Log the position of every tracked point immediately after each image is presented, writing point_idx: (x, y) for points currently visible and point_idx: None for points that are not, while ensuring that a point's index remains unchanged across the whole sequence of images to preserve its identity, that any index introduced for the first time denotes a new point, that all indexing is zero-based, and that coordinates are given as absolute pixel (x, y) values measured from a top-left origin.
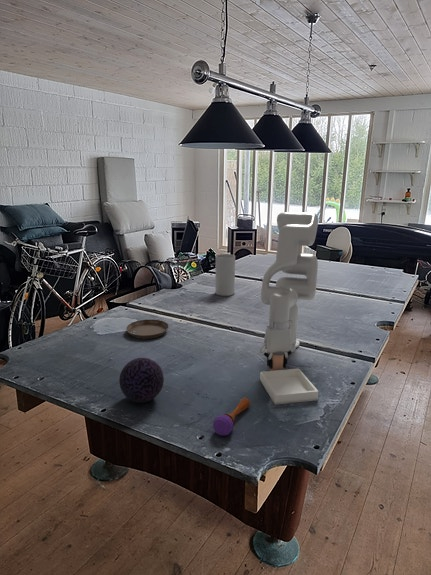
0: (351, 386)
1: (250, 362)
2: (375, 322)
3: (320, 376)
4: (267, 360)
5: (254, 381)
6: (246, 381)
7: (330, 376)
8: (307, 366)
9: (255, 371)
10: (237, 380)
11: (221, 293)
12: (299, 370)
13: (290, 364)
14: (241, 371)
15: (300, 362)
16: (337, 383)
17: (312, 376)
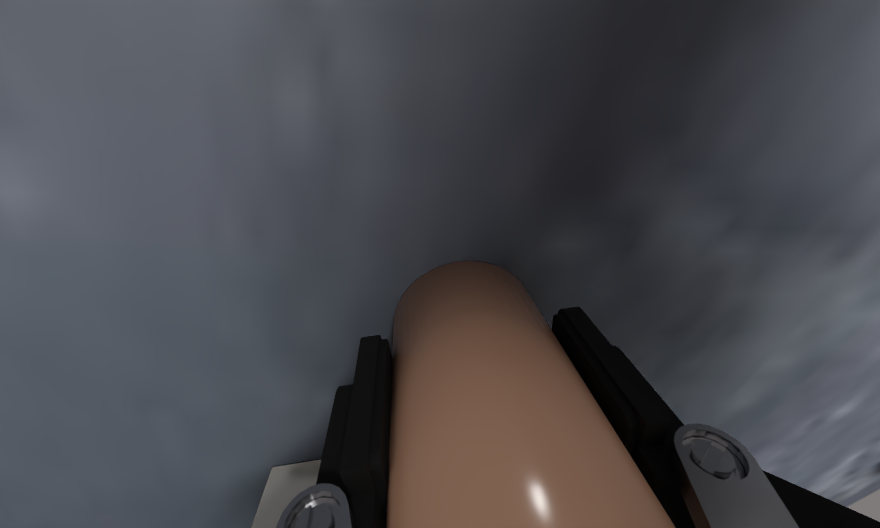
0: (849, 487)
1: (69, 38)
2: None
3: (786, 403)
4: (328, 460)
5: (223, 481)
6: (147, 485)
7: (853, 401)
8: (842, 235)
9: (212, 332)
10: (48, 478)
11: None
12: None
13: (698, 171)
14: (19, 332)
15: (859, 117)
16: (808, 468)
17: (729, 404)
